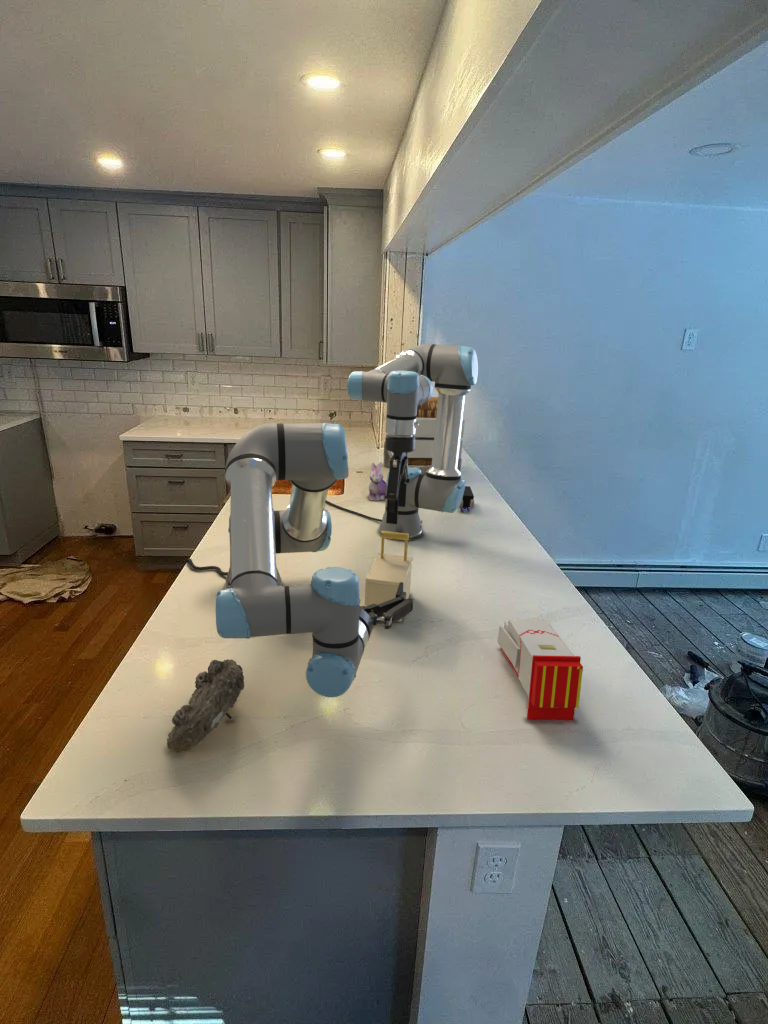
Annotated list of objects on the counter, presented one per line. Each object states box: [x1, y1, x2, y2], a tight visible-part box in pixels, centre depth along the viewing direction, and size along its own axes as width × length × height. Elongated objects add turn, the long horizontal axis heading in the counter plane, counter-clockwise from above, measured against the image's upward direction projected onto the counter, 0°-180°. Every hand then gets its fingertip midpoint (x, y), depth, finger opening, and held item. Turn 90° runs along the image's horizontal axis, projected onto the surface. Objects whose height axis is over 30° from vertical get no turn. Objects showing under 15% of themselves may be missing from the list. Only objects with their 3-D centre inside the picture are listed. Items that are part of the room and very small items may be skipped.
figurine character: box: [458, 485, 475, 513], centre depth 228 cm, size 7×8×15 cm
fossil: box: [166, 658, 245, 754], centre depth 106 cm, size 22×10×15 cm
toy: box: [497, 618, 584, 722], centre depth 122 cm, size 12×13×30 cm
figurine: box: [367, 461, 387, 502], centre depth 234 cm, size 9×10×15 cm
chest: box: [364, 563, 413, 623], centre depth 150 cm, size 15×10×10 cm, turn 169°
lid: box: [365, 531, 413, 586], centre depth 147 cm, size 16×10×9 cm, turn 169°
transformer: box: [382, 396, 465, 474], centre depth 268 cm, size 34×33×41 cm
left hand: (370, 585), depth 122 cm, fingers open, 13 cm apart
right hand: (396, 514), depth 149 cm, fingers open, 13 cm apart
